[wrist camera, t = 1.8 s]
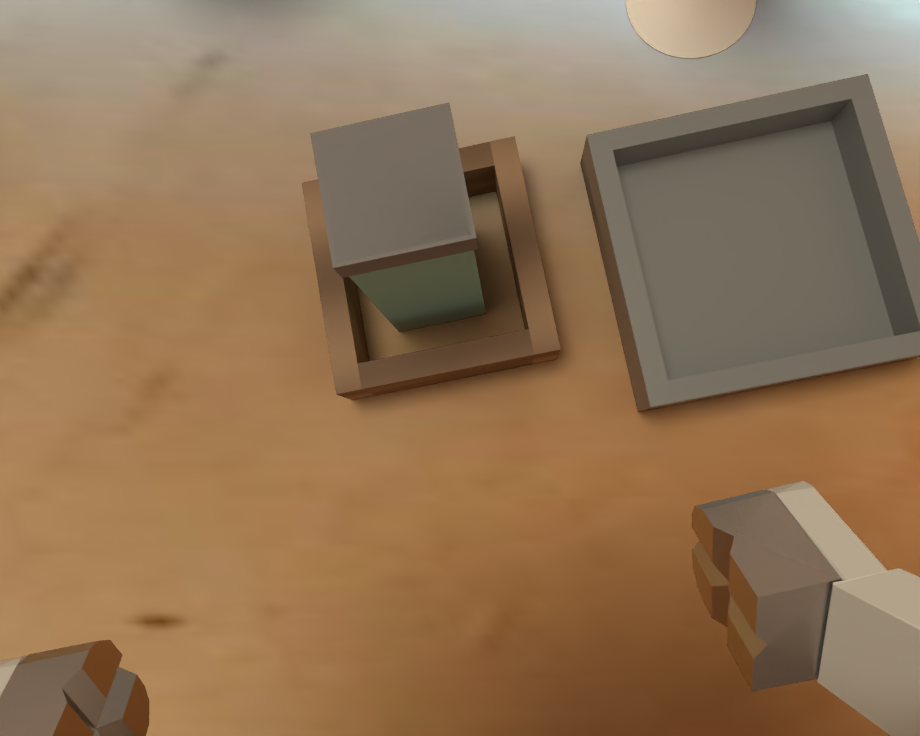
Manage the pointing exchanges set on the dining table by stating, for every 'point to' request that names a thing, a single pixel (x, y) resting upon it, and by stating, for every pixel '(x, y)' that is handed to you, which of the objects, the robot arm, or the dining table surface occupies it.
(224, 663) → the dining table surface
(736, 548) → the robot arm
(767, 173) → the grey tray
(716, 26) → the champagne flute
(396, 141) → the pin
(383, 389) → the walnut collar
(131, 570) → the dining table surface
